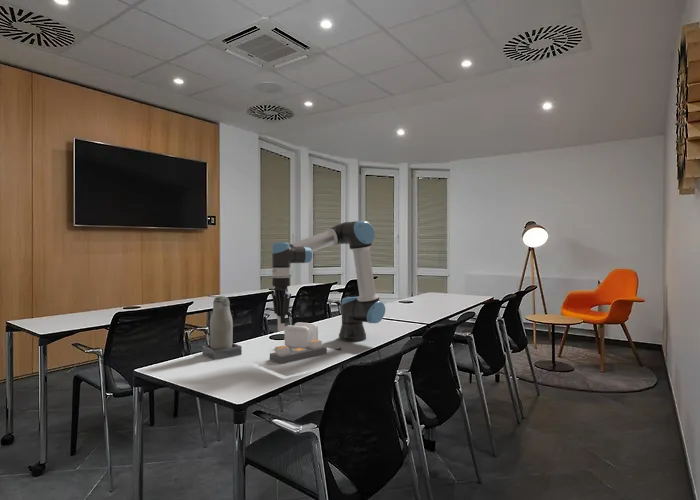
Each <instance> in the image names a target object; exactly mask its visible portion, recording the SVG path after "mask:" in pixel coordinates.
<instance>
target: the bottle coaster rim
mask: <svg viewBox="0 0 700 500" xmlns="http://www.w3.org/2000/svg"><path fill="white" fill-rule="evenodd" d="M201 348H202V353H201V354H202V355H203V356H205V357H206V358H207V357H208V358H210V359H211V360H214V361H215V360H220V359H221V360H222V359H225V358H231V357H236V356H241V355H242V350H243V348H242V345H240V344H236V343H234V342H233V343H232V348H226V349H221V350H213V349H211V345H210V344H206V345H202V347H201Z"/></svg>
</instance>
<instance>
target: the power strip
mask: <svg viewBox="0 0 700 500" xmlns="http://www.w3.org/2000/svg"><path fill="white" fill-rule="evenodd" d="M297 348H298V347H294V349H297ZM300 348H302V349H306V351H303V352H294V351H292V349H293V348H291V349H290V348H289V355H284V356H279V355H276V354H275V352H271V353H269V360H270V361H272V362H274V363H277V364H280V365H282V364H286V363H290V362H296V361H299V360H305V359H309V358H313V357H317V356H321V355H326V354H328V351H329V349H327V348H328V347H326V346H323V345H322V348H317V349H312V348H308V346H305V347H300ZM331 350H335V351H342V347H336V348H331V349H330V351H331Z"/></svg>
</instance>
